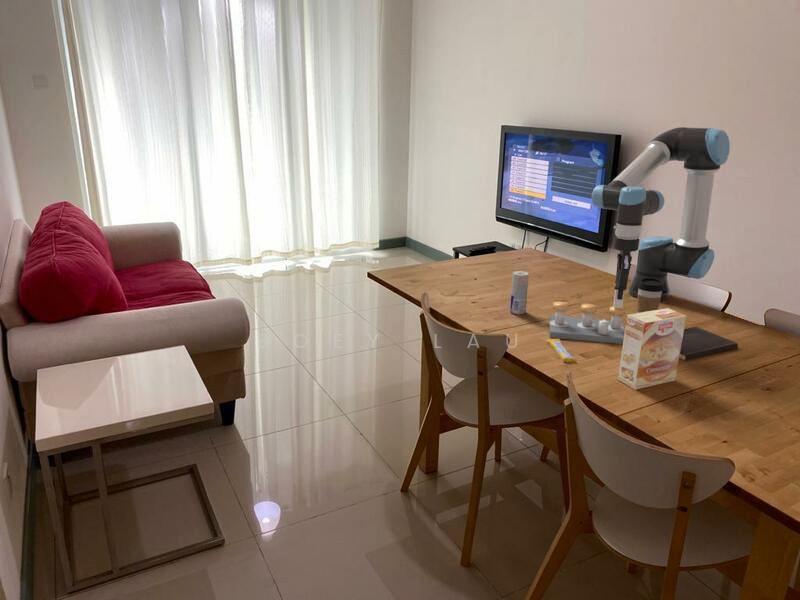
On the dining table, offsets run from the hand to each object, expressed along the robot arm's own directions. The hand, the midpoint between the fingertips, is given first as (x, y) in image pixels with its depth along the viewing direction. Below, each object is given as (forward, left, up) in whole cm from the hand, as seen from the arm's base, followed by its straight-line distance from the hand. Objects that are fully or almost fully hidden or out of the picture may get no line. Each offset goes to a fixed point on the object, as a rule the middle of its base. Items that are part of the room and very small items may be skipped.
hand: (617, 307), depth 201 cm
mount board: (+9, 0, -9) cm, 13 cm away
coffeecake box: (-5, +34, -10) cm, 36 cm away
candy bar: (+18, +19, -10) cm, 28 cm away
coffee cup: (-12, -15, -10) cm, 22 cm away
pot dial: (+4, +6, -7) cm, 10 cm away
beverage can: (+32, -14, -10) cm, 36 cm away
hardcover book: (-23, +4, -10) cm, 25 cm away
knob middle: (+9, 0, -7) cm, 11 cm away
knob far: (+18, 0, -7) cm, 19 cm away
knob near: (0, 0, -7) cm, 7 cm away
